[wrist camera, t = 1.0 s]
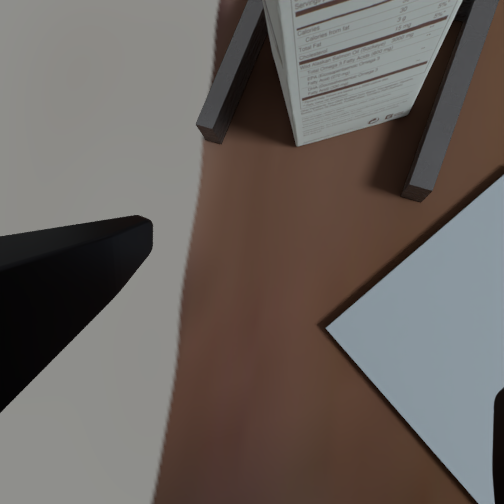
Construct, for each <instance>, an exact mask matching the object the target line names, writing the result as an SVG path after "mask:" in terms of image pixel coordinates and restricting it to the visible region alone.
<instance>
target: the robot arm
mask: <svg viewBox="0 0 504 504" xmlns="http://www.w3.org/2000/svg"><path fill="white" fill-rule="evenodd" d="M152 246H153V224H152V222H151V220H149V219H147V218H144V217H142V216H139V215H134V216H127V217H120V218H114V219H108V220H101V221H95V222H89V223H83V224H76V225H70V226H64V227H57V228H51V229H44V230H38V231H32V232H25V233H19V234H13V235H6V236H0V413H1V412H2V411H3V409H5V407H6V406H7V405H8V404H9V403H10V402H11V401H12V400H13V399H14V398H15V397H16V396H17V395H18V394H19V393H20V392H21V391H22V390H23V389H24V388H25V387H26V386H27V385H28V384H29V383H30V382H31V381H32V380H33V379H34V378H35V377H36V376H37V375H38V374H39V373H40V372H41V371H42V370H43V369H44V368H45V367H46V366H47V365H48V364H49V363H50V362H51V361H52V360H53V359H54V358H55V357H56V356H57V355H58V354H59V353H60V352H61V351H62V350H63V349H64V348H65V347H66V346H67V345H68V344H69V343H70V342H71V341H72V340H73V339H74V338H75V337H76V336H77V335H78V334H79V333H80V332H81V331H82V330H83V329H84V328H85V327H86V325H88V324H89V323H90V321H92V320H93V319H94V318H95V317H96V315H98V314H99V312H101V310H103V309H104V307H105V306H106V305H107V304H108V303H109V302H110V301H111V300H112V299H113V298H114V297H115V296H116V295H117V294H118V293H119V292H120V290H121V289H122V288H123V287H124V286H125V284H126V283H127V282H128V281H129V279H130V278H131V277H132V275H133V274H134V273H135V272H136V270H137V269H138V268H139V267H140V265H141V264H142V263H143V262H144V260H145V259H146V258H147V257H148V255H149V254H150V252H151V250H152ZM492 476H493V490H494V501H495V504H504V387H503V388H502V389H501V390H500V391H499V392H498V393H497V395H496V397H495V400H494V414H493V449H492Z"/></svg>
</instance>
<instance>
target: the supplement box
mask: <svg viewBox="0 0 504 504" xmlns="http://www.w3.org/2000/svg"><path fill="white" fill-rule="evenodd" d="M262 1H263V6H264V12H265V17H266V23H267V28H268V34H269V39H270V44H271V49H272V54H273V58H274V61H275V64H276V68H277V72H278V76H279V80H280V83H281V87H282V91H283V95H284V99H285V103H286V107H287V111H288V114H289V118H290V122H291V126H292V130H293V135H294V139H295V144H296V146H301V145H306V144H309V143H313V142H317V141H320V140H323V139H327V138H331V137H334V136H338V135H341V134H345V133H348V132H352V131H355V130H359V129H362V128H366V127H369V126H373V125H376V124H380V123H383V122H386V121H390V120H393V119H397V118H400V117H403V116H406V115H408V114H409V112H410V110H411V108H412V106H413V104H414V102H415V100H416V98H417V95H418V93H419V91H420V89H421V87H422V85H423V83H424V80H425V78H426V76H427V74H428V72H429V70H430V68H431V66H432V64H433V61H434V60H435V58H436V56H437V53H438V51H439V49H440V47H441V45H442V43H443V41H444V38H445V36H446V34H447V32H448V30H449V28H450V26H451V24H452V22H453V20H454V17H455V15H456V13H457V11H458V9H459V7H460V5H461V3H462V1H463V0H262Z"/></svg>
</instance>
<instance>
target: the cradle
mask: <svg viewBox="0 0 504 504" xmlns="http://www.w3.org/2000/svg"><path fill="white" fill-rule="evenodd" d="M498 1H499V0H463V1H462V3H461V5H460V7H459V9H458V11H457V13H456V15H455V17H454V20H456V21H462V22H463V23H462V25H461V28H460V31H459V34H458V37H457V39H456V42H455V45H454V48H453V51H452V53H451V56H450V59H449V62H448V65H447V67H446V70H445V73H444V76H443V79H442V81H441V84H440V87H439V90H438V93H437V95H436V98H435V101H434V104H433V107H432V109H431V112H430V115H429V118H428V121H427V123H426V126H425V129H424V132H423V135H422V137H421V140H420V143H419V146H418V149H417V151H416V154H415V157H414V160H413V163H412V165H411V168H410V171H409V174H408V177H407V179H406V182H405V185H404V188H403V190H402V193H401V197H404V198H408V199H411V200H415V201H418V202H422V201H423V200H424V199H425V198H426V197H427V196H428V195H429V194H430V193H431V192H432V191H433V188H434V185H435V182H436V179H437V176H438V173H439V171H440V168H441V165H442V162H443V159H444V156H445V153H446V150H447V148H448V145H449V142H450V139H451V136H452V133H453V130H454V128H455V125H456V122H457V119H458V116H459V113H460V110H461V108H462V105H463V102H464V99H465V96H466V93H467V90H468V87H469V85H470V82H471V79H472V76H473V73H474V70H475V67H476V65H477V62H478V59H479V56H480V53H481V50H482V47H483V44H484V42H485V39H486V36H487V33H488V30H489V27H490V24H491V22H492V19H493V16H494V13H495V10H496V7H497V4H498ZM267 33H268V28H267V23H266V17H265V12H264V6H263V1H262V0H248V2H247V4H246V7H245V9H244V11H243V14H242V16H241V18H240V21H239V23H238V25H237V28H236V30H235V33H234V35H233V37H232V40H231V42H230V44H229V47H228V49H227V51H226V54H225V56H224V58H223V61H222V63H221V66H220V68H219V70H218V73H217V75H216V77H215V80H214V82H213V84H212V87H211V89H210V91H209V94H208V96H207V99H206V101H205V103H204V106H203V108H202V110H201V113H200V115H199V117H198V120H197V122H196V126H197V127H198V129H199V130H200V132H201V133H202V135H203V136H204V138H205V139H206V140H209V141H212V142H215V143H219V144H222V142H223V139H224V137H225V134H226V132H227V129H228V127H229V125H230V122H231V120H232V117H233V115H234V113H235V110H236V108H237V105H238V103H239V101H240V98H241V96H242V93H243V91H244V88H245V86H246V84H247V81H248V79H249V76H250V74H251V72H252V69H253V67H254V64H255V62H256V59H257V57H258V55H259V52H260V50H261V47H262V45H263V43H264V40H265V38H266V35H267Z"/></svg>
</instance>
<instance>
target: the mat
mask: <svg viewBox="0 0 504 504" xmlns="http://www.w3.org/2000/svg"><path fill="white" fill-rule="evenodd" d="M326 329H327V330H328V332H329V333H330V334H331V335H332V336H333V337H334V338H335V340H336V341H337V342H338V343H339V344H340V345H341V347H342V348H343V349H344V350H345V351H346V352H347V353H348V355H349V356H350V357H351V358H352V359H353V360H354V361H355V363H356V364H357V365H358V366H359V367H360V368H361V369H362V371H363V372H364V373H365V374H366V375H367V376H368V377H369V379H370V380H371V381H372V382H373V383H374V384H375V385H376V387H377V388H378V389H379V390H380V391H381V392H382V394H383V395H384V396H385V397H386V398H387V399H388V400H389V402H390V403H391V404H392V405H393V406H394V407H395V408H396V410H397V411H398V412H399V413H400V414H401V415H402V416H403V418H404V419H405V420H406V421H407V422H408V423H409V424H410V426H411V427H412V428H413V429H414V430H415V431H416V432H417V434H418V435H419V436H420V437H421V438H422V439H423V441H424V442H425V443H426V444H427V445H428V446H429V447H430V449H431V450H432V451H433V452H434V453H435V454H436V455H437V457H438V458H439V459H440V460H441V461H442V462H443V463H444V465H445V466H446V467H447V468H448V469H449V470H450V471H451V473H452V474H453V475H454V476H455V477H456V478H457V479H458V481H459V482H460V483H461V484H462V485H463V486H464V488H465V489H466V490H467V491H468V492H469V493H470V494H471V496H472V497H473V498H474V499H475V500H476V501H477V502H478V504H495V501H494V490H493V476H492V449H493V414H494V400H495V397H496V395H497V393H498V392H499V391H500V390H501V389H502V388H503V387H504V174H503V175H502V176H501V177H500V178H499V179H498V180H496V181H495V182H494V183H493V184H492V185H491V186H490V187H488V188H487V189H486V190H485V191H484V192H483V193H481V194H480V195H479V196H478V197H477V198H476V199H474V200H473V201H472V202H471V203H470V204H469V205H467V206H466V207H465V208H464V209H463V210H462V211H461V212H459V213H458V214H457V215H456V216H455V217H454V218H452V219H451V220H450V221H449V222H448V223H447V224H445V225H444V226H443V227H442V228H441V229H440V230H438V231H437V232H436V233H435V234H434V235H433V236H431V237H430V238H429V239H428V240H427V241H426V242H425V243H423V244H422V245H421V246H420V247H419V248H418V249H416V250H415V251H414V252H413V253H412V254H411V255H409V256H408V257H407V258H406V259H405V260H404V261H402V262H401V263H400V264H399V265H398V266H397V267H396V268H394V269H393V270H392V271H391V272H390V273H389V274H387V275H386V276H385V277H384V278H383V279H382V280H380V281H379V282H378V283H377V284H376V285H375V286H373V287H372V288H371V289H370V290H369V291H368V292H366V293H365V294H364V295H363V296H362V297H361V298H360V299H358V300H357V301H356V302H355V303H354V304H353V305H351V306H350V307H349V308H348V309H347V310H346V311H344V312H343V313H342V314H341V315H340V316H339V317H337V318H336V319H335V320H334V321H333V322H332V323H331V324H329V325H328V326H327V327H326Z"/></svg>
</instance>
